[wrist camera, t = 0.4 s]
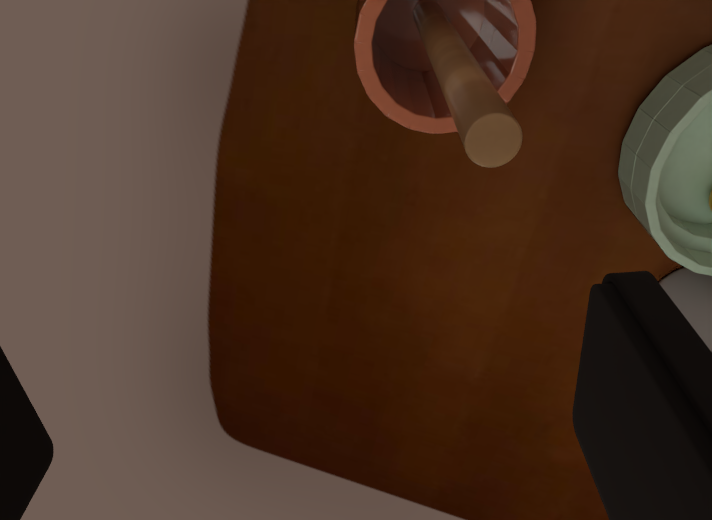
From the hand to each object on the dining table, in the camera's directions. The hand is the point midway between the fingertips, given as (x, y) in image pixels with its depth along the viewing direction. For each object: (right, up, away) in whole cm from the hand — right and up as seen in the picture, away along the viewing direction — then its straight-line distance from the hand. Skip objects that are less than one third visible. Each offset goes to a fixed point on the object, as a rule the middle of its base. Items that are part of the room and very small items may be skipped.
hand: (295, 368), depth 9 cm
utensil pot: (+5, +16, +24) cm, 29 cm away
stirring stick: (+5, +16, +24) cm, 29 cm away
